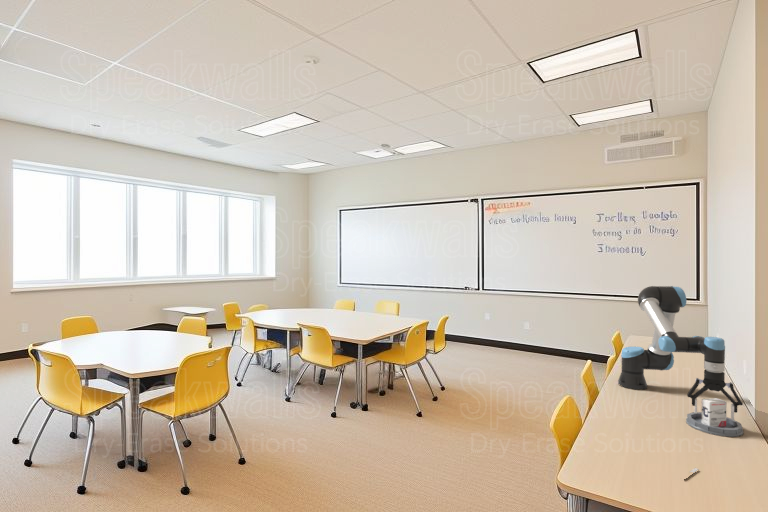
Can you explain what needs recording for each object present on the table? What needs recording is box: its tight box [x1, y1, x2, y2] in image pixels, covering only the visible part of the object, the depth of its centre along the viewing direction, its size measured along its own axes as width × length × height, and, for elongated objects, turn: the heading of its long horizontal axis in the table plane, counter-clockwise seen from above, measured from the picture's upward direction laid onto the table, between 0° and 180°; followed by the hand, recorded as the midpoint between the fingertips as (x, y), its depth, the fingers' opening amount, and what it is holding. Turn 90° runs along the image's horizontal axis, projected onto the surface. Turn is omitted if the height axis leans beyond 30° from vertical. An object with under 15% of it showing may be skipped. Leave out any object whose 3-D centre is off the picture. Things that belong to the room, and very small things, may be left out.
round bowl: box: [685, 411, 744, 438], centre depth 197 cm, size 21×21×3 cm
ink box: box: [701, 397, 727, 427], centre depth 196 cm, size 8×5×12 cm, turn 96°
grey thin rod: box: [689, 467, 700, 473], centre depth 155 cm, size 12×1×1 cm, turn 123°
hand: (713, 415), depth 196 cm, fingers open, 13 cm apart
